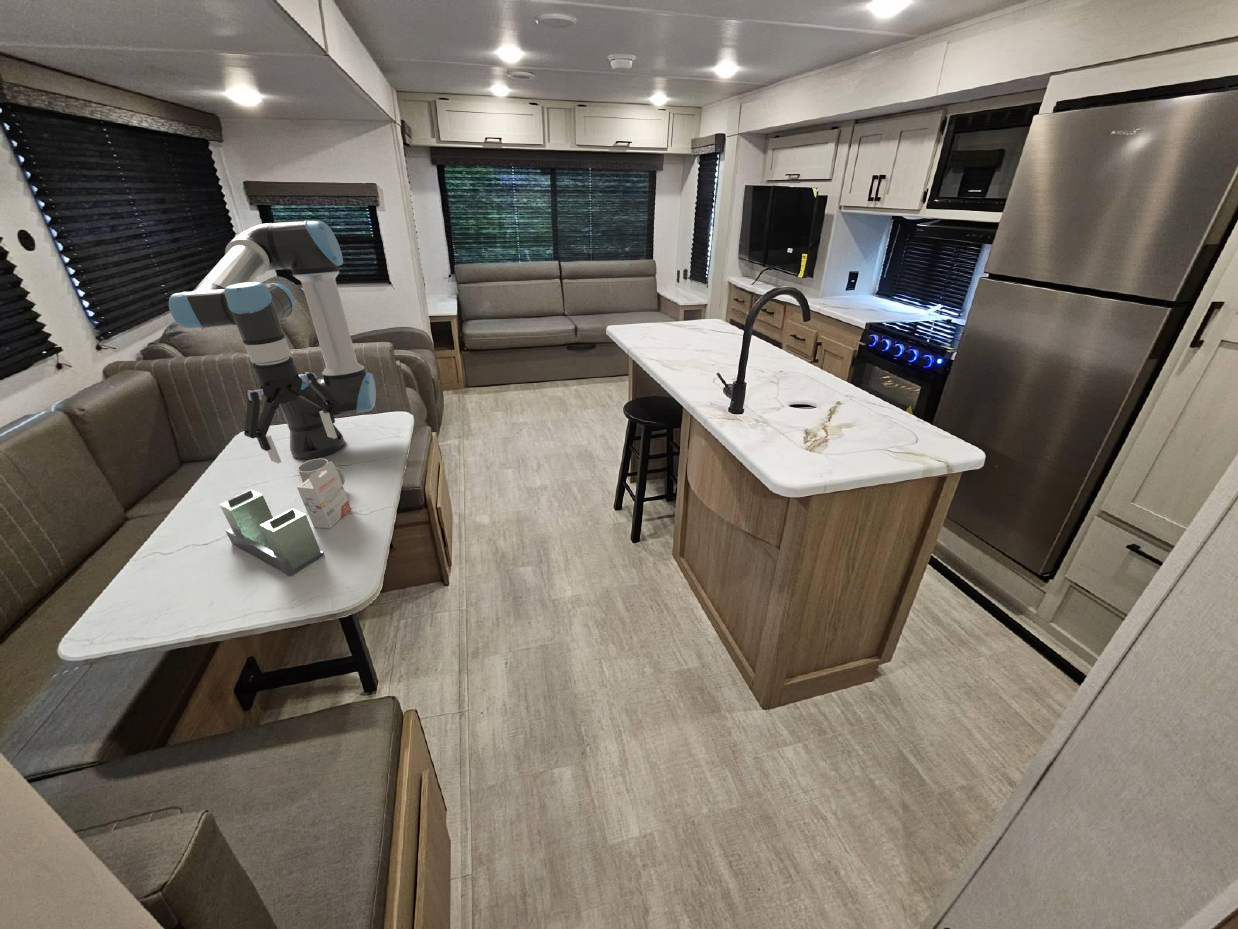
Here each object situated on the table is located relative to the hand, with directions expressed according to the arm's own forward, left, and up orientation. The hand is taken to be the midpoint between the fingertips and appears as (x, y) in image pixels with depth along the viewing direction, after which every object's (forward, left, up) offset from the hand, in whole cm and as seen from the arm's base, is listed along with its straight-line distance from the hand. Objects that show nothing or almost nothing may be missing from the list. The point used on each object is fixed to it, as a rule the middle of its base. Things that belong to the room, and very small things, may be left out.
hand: (305, 448), depth 121 cm
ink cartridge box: (0, 0, -20) cm, 20 cm away
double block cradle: (+14, 0, -20) cm, 24 cm away
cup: (-7, -12, -20) cm, 25 cm away
